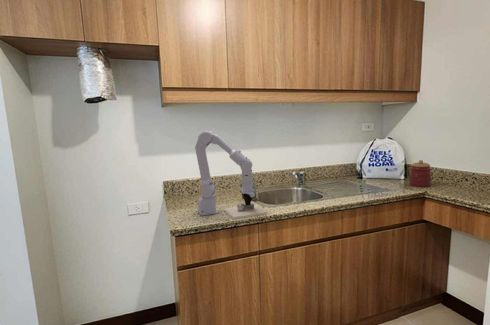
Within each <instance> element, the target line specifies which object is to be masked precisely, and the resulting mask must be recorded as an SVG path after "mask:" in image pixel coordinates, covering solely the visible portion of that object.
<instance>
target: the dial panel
mask: <svg viewBox="0 0 490 325" xmlns="http://www.w3.org/2000/svg"><path fill="white" fill-rule="evenodd" d="M253 204H254V209H249V210H244V211H238V209H237V206H233V207H227V208H223V211H224V212H225V214H227V215H228V216H229V218H231V220H233V221H234V220H238V219H239V220H240V219H244V218H245V219H246V218H252V217H257V216H262V215H263V216H264V215H267V211H265V210H264V209H263V208H261V207H259V206H257V205H256V204H255V203H253Z"/></svg>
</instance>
